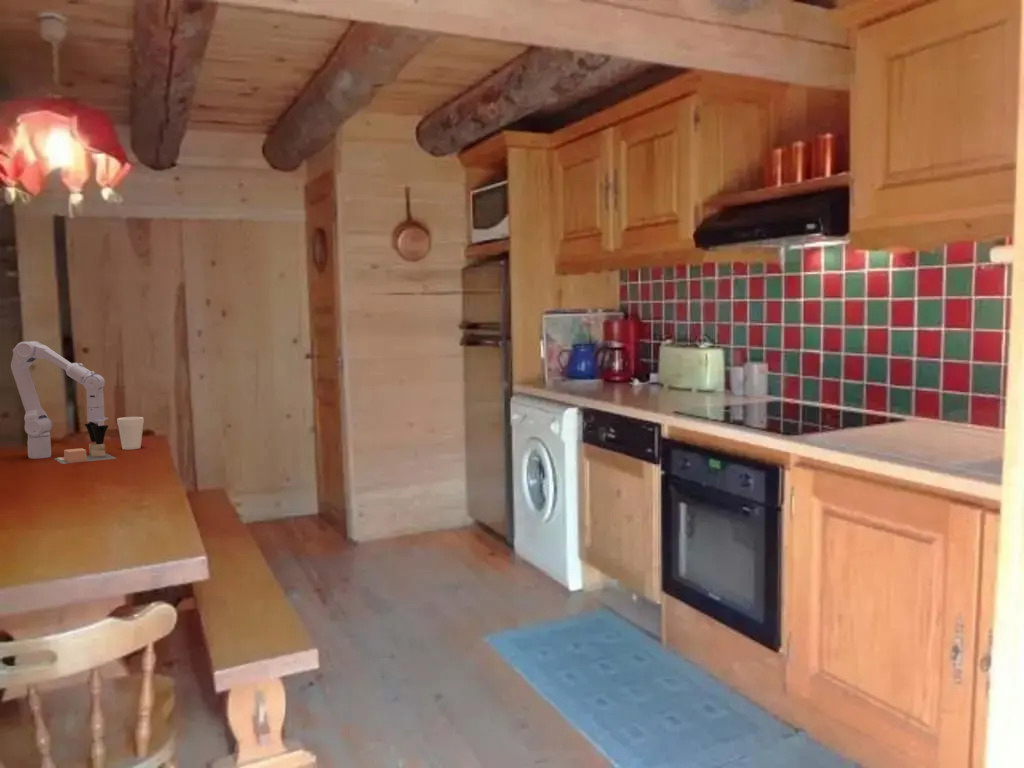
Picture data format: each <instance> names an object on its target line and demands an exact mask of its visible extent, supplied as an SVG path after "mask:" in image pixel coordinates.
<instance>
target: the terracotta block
mask: <svg viewBox="0 0 1024 768" xmlns="http://www.w3.org/2000/svg"><path fill="white" fill-rule="evenodd" d="M87 455H88V454H87V449H84V448H83V447H81V448H69V449H64V450H63V457H64V461H66V462H67V463H68V464H75V463H74V462H77V463H84V461H87ZM87 462H88V461H87Z"/></svg>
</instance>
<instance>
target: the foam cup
mask: <svg viewBox="0 0 1024 768" xmlns="http://www.w3.org/2000/svg"><path fill="white" fill-rule="evenodd" d="M116 420H117V421H116V423H117V427H118V428H117V429H118V433H119V438H120V443H121V448H122V450H137V449H138V450H139V449H141V446H142V437H143V431H144V430H143V429H144V424H145V420H144V417H143V416H125V417H118V418H117V419H116Z"/></svg>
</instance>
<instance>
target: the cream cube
mask: <svg viewBox="0 0 1024 768" xmlns="http://www.w3.org/2000/svg"><path fill="white" fill-rule="evenodd" d="M88 451H89V453H88V455H90V456H91V457H97V456H105V454H106V444H105V443H103V444H96V442H92V443H89V444H88Z"/></svg>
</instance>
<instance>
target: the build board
mask: <svg viewBox="0 0 1024 768" xmlns="http://www.w3.org/2000/svg"><path fill="white" fill-rule="evenodd" d="M57 458H58V457H55V458H54V459H53V460H55V461H57V462H58V463H60V464H62V465H66V464H69V463H67V462H66V461H64V460H59V459H57ZM114 459H115V460H116V459H117V457H115V456H113V455H111V454H110V453H107V452H105V456H97V457H91V456H90V455H89V454H87V461H84V462H95V461H97V462H98V461H105V460H114ZM84 462H83V463H84ZM76 463H78V462H74V463H73V464H76Z"/></svg>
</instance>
